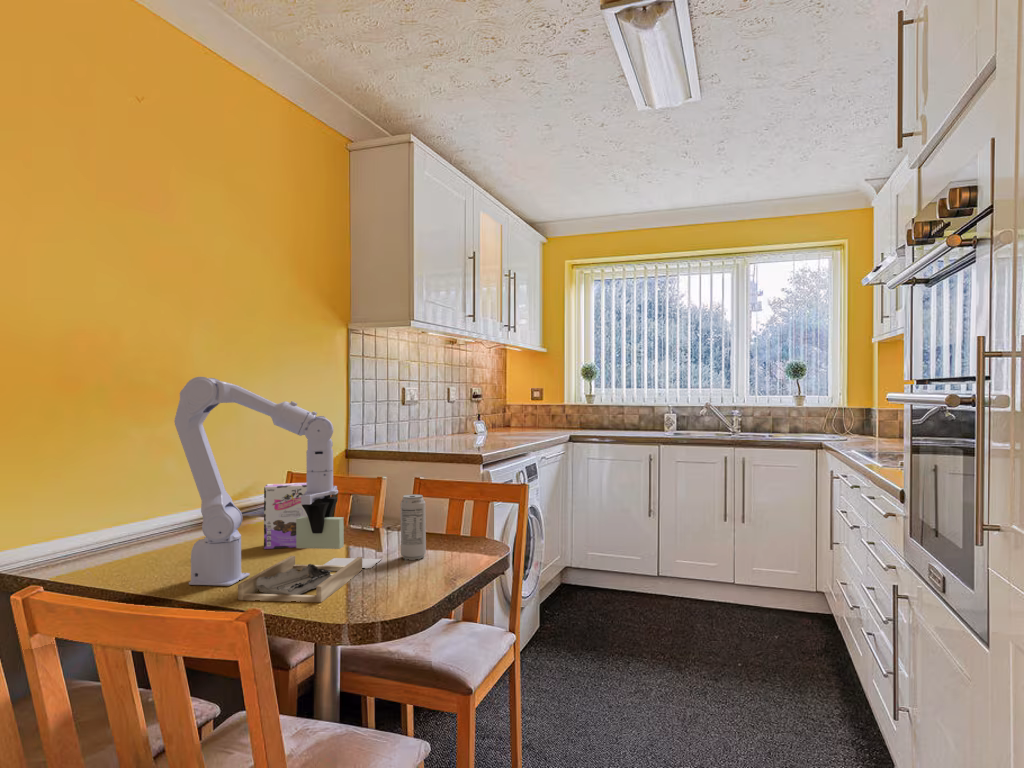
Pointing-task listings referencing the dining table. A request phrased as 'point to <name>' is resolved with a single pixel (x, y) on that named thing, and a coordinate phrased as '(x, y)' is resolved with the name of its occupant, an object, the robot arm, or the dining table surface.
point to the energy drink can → (413, 527)
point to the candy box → (282, 514)
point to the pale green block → (320, 534)
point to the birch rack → (322, 590)
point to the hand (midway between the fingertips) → (320, 531)
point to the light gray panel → (344, 561)
